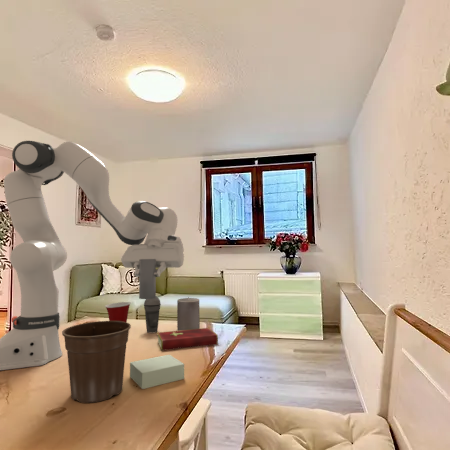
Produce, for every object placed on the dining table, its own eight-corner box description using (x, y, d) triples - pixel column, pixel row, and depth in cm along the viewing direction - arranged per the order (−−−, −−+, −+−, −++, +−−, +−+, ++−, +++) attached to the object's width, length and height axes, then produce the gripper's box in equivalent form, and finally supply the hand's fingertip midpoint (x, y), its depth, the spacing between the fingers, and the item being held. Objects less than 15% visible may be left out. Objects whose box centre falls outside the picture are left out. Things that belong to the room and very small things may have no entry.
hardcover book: (217, 345, 125) (217, 334, 125) (161, 351, 118) (161, 339, 118) (208, 337, 136) (208, 327, 137) (156, 342, 129) (156, 331, 130)
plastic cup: (107, 328, 151) (108, 301, 152) (132, 327, 152) (132, 301, 153) (101, 334, 140) (102, 305, 141) (128, 333, 142) (128, 305, 142)
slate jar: (142, 299, 101) (142, 259, 101) (136, 297, 105) (137, 259, 106) (158, 297, 103) (158, 259, 104) (152, 296, 108) (152, 258, 108)
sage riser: (142, 389, 86) (142, 373, 86) (129, 376, 94) (130, 362, 94) (184, 378, 92) (184, 363, 93) (169, 368, 101) (169, 354, 101)
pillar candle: (180, 328, 150) (180, 294, 151) (202, 329, 149) (201, 295, 149) (174, 334, 140) (174, 298, 141) (197, 335, 139) (196, 298, 140)
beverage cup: (158, 333, 141) (158, 286, 142) (141, 333, 141) (141, 286, 142) (162, 329, 148) (162, 284, 150) (145, 329, 148) (146, 284, 150)
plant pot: (58, 414, 73) (60, 339, 74) (62, 386, 88) (63, 324, 89) (134, 399, 80) (135, 331, 81) (125, 376, 95) (126, 318, 96)
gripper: (126, 238, 114) (112, 269, 103) (184, 237, 111) (175, 268, 100) (132, 251, 118) (118, 282, 108) (188, 250, 115) (180, 282, 104)
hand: (146, 275), depth 104 cm, fingers closed on slate jar, 5 cm apart
